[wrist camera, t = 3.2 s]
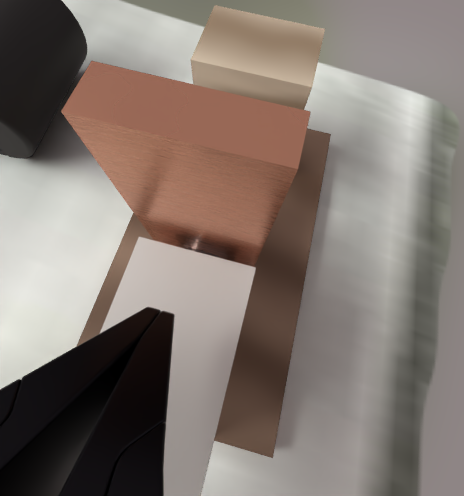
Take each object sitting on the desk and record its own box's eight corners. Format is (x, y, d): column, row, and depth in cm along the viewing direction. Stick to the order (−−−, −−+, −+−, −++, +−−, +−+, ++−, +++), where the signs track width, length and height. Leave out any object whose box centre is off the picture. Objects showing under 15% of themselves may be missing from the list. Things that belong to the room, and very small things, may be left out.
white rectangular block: (207, 438, 14) (197, 508, 8) (117, 411, 14) (47, 461, 9) (244, 291, 16) (256, 267, 11) (167, 270, 17) (139, 236, 11)
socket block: (281, 173, 19) (312, 87, 13) (201, 153, 20) (190, 59, 13) (291, 128, 21) (325, 28, 14) (217, 110, 21) (214, 5, 14)
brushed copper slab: (211, 429, 12) (175, 733, 3) (110, 399, 13) (-230, 590, 3) (271, 186, 17) (337, -13, 7) (194, 168, 17) (159, -51, 7)
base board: (269, 450, 15) (272, 457, 14) (66, 389, 15) (56, 393, 14) (325, 143, 21) (330, 134, 21) (183, 109, 22) (181, 99, 21)
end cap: (57, 172, 20) (-22, 94, 14) (-33, 153, 20) (-151, 68, 14) (105, 76, 23) (59, -25, 17) (27, 60, 23) (-47, -44, 17)
